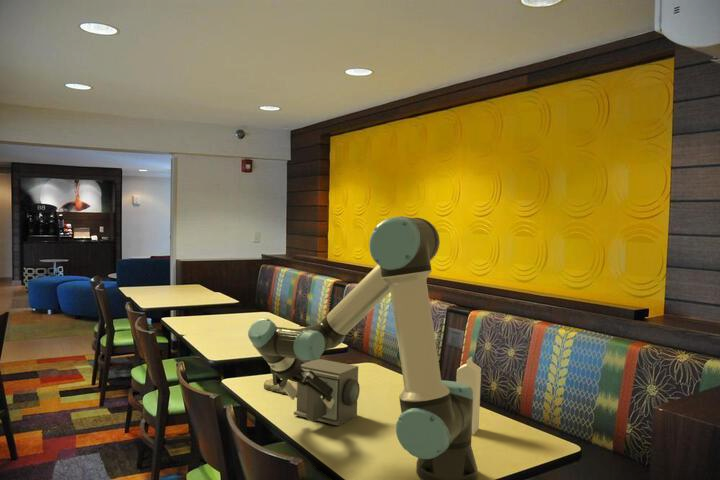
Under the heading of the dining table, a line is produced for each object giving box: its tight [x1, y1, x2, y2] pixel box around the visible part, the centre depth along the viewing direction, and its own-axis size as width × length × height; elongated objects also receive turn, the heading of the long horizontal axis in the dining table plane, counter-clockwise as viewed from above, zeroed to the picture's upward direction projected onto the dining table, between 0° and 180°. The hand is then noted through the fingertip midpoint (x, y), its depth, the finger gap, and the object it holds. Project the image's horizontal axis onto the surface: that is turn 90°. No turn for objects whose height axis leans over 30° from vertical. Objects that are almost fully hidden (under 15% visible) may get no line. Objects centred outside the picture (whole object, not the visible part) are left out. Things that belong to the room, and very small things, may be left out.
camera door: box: [306, 376, 338, 422], centre depth 167 cm, size 9×8×12 cm
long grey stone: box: [263, 378, 297, 398], centre depth 198 cm, size 35×5×10 cm
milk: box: [455, 356, 482, 436], centre depth 168 cm, size 6×6×22 cm
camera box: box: [293, 358, 361, 427], centre depth 176 cm, size 18×12×16 cm
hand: (312, 400), depth 167 cm, fingers open, 13 cm apart
